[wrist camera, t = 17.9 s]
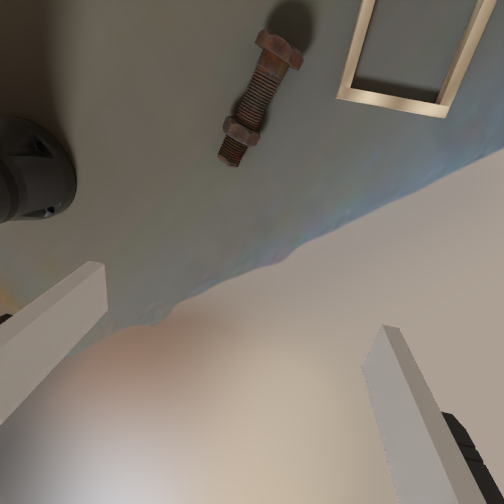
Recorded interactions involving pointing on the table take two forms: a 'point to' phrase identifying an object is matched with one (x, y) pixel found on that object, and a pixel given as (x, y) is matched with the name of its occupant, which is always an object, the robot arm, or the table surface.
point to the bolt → (258, 95)
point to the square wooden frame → (451, 80)
